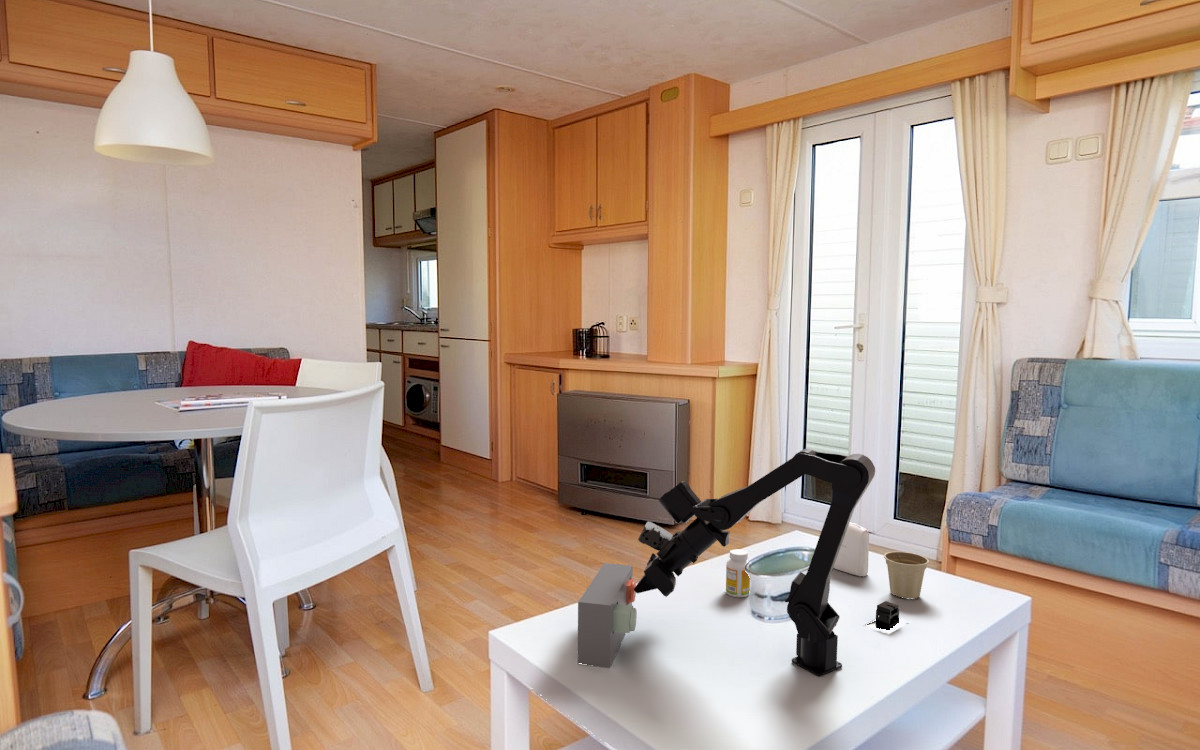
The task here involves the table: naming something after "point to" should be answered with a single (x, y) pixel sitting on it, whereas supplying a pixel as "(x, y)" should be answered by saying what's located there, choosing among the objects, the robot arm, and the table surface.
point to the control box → (602, 615)
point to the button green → (624, 618)
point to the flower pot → (905, 573)
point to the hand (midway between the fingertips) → (635, 591)
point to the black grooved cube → (886, 616)
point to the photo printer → (854, 551)
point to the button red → (631, 591)
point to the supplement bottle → (737, 574)
